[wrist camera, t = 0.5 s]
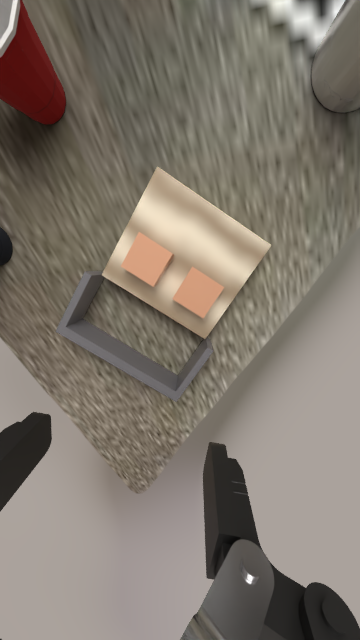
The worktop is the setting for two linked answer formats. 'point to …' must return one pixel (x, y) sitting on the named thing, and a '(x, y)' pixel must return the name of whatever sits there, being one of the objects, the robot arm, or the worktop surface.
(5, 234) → the wine bottle
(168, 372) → the box
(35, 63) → the plastic cup
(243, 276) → the birch board
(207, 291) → the terracotta tile
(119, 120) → the worktop surface
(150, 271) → the terracotta tile
